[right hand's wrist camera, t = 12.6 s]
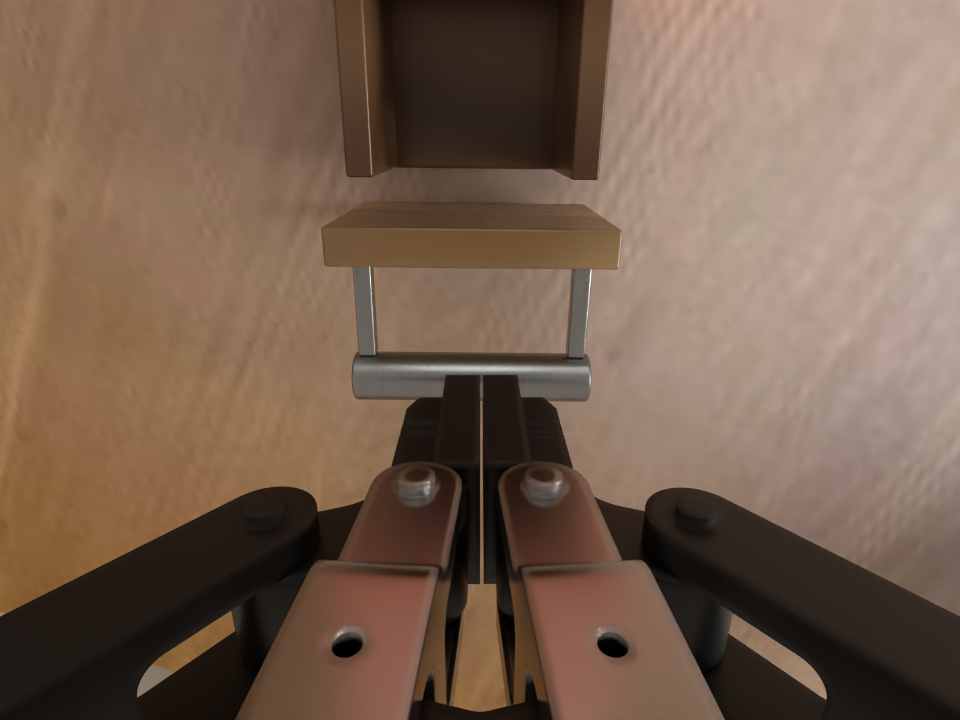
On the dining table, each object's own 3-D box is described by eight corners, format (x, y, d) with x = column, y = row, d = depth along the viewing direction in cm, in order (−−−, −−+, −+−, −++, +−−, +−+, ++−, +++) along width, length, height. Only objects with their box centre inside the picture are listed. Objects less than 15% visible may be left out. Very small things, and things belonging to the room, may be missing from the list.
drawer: (573, 352, 26) (603, 423, 19) (372, 350, 26) (337, 421, 19) (618, -241, 18) (691, -440, 12) (335, -246, 18) (259, -448, 12)
